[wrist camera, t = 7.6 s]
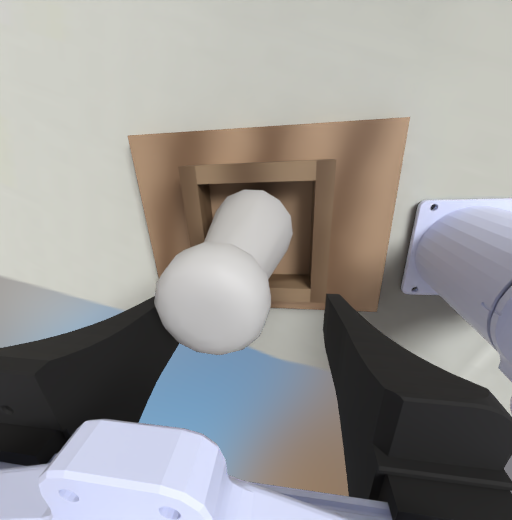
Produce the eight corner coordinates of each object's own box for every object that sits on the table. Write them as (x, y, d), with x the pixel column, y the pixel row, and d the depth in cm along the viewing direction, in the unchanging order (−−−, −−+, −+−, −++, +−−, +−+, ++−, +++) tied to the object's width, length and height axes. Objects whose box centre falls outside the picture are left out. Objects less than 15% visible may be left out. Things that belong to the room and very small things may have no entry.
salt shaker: (253, 168, 19) (183, 193, 7) (307, 220, 20) (330, 320, 8) (208, 224, 21) (96, 316, 9) (259, 267, 22) (218, 404, 10)
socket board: (402, 119, 17) (429, 111, 14) (372, 304, 23) (386, 330, 20) (136, 136, 20) (104, 133, 17) (169, 296, 26) (151, 318, 22)
